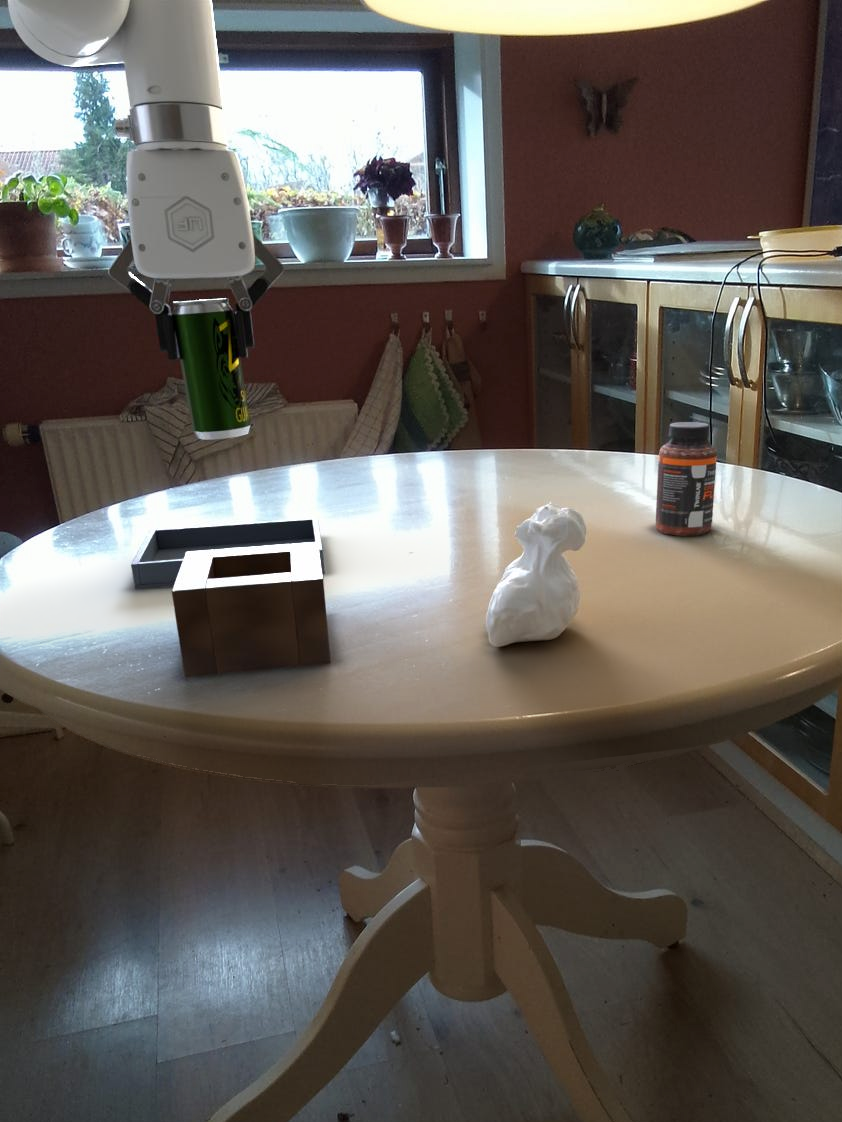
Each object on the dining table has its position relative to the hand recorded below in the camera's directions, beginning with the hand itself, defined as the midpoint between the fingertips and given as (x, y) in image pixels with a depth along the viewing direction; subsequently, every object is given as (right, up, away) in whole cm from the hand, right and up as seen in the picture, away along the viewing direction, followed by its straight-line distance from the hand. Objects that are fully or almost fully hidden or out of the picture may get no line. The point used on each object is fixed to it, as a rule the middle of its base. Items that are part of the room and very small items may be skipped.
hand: (209, 356), depth 85 cm
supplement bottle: (+47, -14, +15) cm, 51 cm away
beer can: (+1, -7, +3) cm, 7 cm away
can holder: (+8, -26, -14) cm, 31 cm away
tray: (0, -18, +7) cm, 20 cm away
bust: (+29, -26, -13) cm, 41 cm away
